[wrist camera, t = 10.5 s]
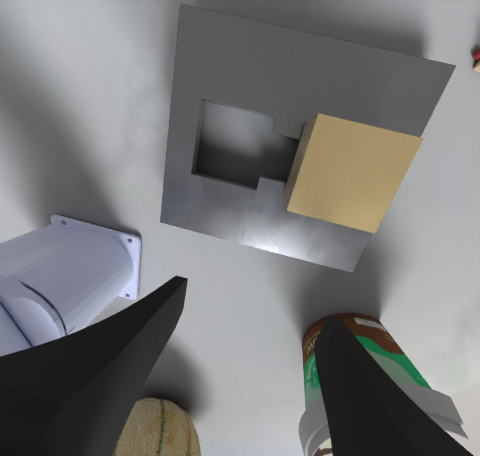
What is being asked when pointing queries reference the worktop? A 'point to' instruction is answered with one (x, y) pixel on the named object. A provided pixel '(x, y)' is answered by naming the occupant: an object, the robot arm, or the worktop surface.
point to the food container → (390, 360)
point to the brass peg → (347, 171)
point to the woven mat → (479, 57)
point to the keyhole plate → (281, 122)
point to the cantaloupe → (158, 431)
